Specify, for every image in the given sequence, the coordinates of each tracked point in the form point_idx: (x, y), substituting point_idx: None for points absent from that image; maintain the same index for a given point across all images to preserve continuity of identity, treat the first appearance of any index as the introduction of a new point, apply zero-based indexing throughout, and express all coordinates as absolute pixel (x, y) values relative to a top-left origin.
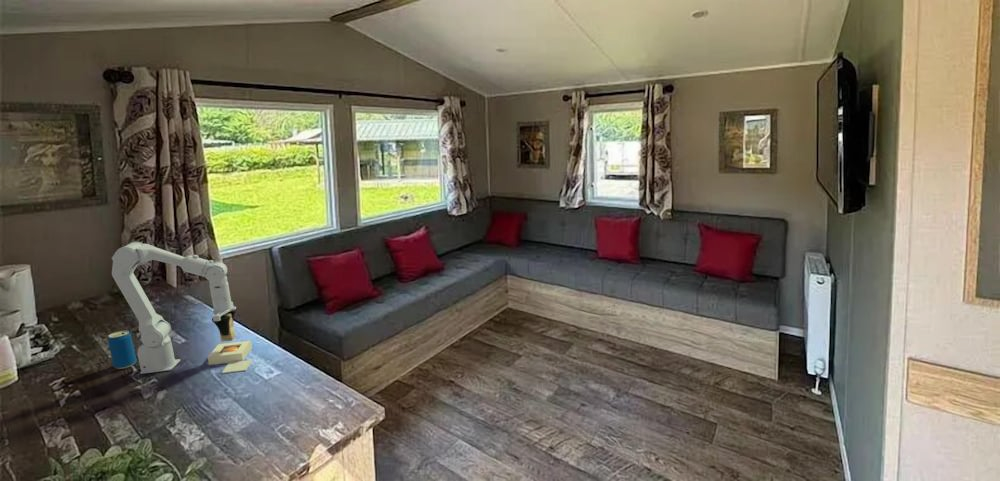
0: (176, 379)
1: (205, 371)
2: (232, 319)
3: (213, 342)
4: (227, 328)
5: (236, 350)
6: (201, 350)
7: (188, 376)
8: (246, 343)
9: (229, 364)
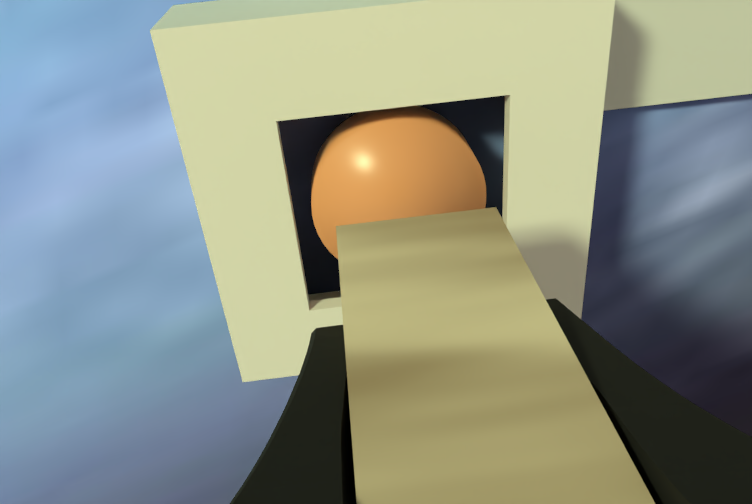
0: (730, 395)
1: (679, 258)
2: (340, 479)
3: (29, 462)
4: (646, 378)
5: (424, 120)
6: (206, 471)
7: (717, 342)
8: (264, 54)
9: (646, 86)
